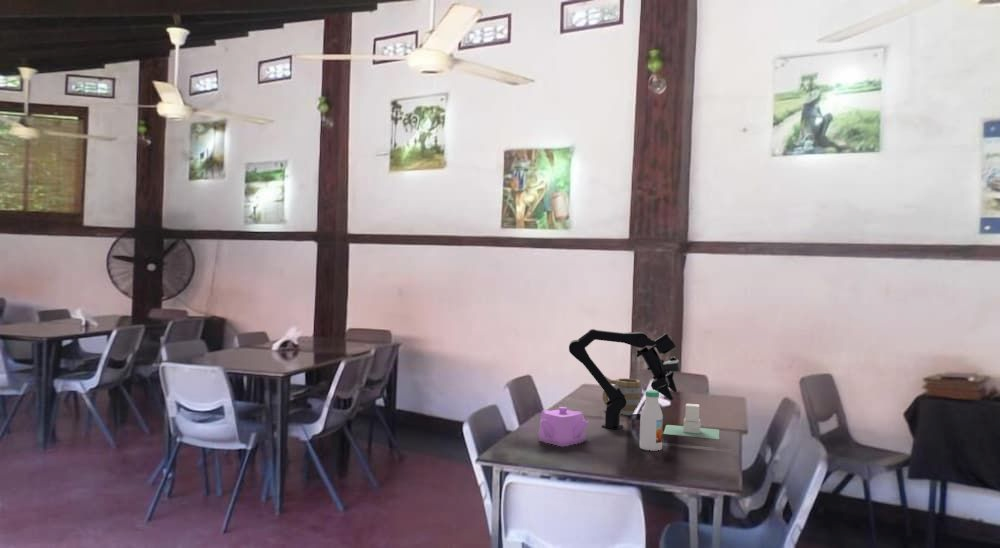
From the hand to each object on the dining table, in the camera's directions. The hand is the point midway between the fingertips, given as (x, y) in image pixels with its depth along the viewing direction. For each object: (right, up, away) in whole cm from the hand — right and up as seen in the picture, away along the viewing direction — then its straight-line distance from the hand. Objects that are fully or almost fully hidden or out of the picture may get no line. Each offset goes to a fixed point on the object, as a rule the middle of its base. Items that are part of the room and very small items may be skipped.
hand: (674, 395), depth 270 cm
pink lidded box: (-46, -13, -22) cm, 52 cm away
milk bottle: (-15, -14, -28) cm, 35 cm away
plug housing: (+5, -12, -7) cm, 15 cm away
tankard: (-16, -13, +34) cm, 39 cm away
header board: (+5, -14, -7) cm, 16 cm away
